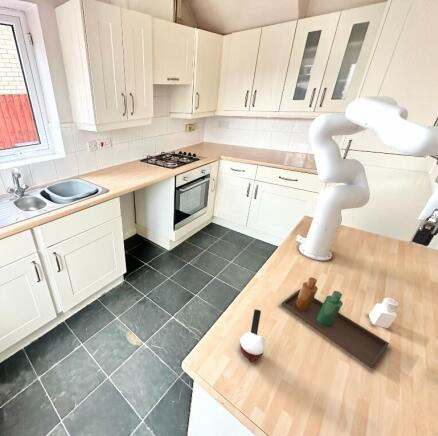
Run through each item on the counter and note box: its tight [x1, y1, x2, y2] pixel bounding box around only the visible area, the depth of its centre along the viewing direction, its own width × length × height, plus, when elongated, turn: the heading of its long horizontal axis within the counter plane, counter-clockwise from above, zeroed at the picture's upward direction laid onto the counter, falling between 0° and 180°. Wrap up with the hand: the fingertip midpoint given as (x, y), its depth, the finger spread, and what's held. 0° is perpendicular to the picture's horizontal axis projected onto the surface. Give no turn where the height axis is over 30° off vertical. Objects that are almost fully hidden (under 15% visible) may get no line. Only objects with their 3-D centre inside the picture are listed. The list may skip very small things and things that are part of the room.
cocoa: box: [239, 308, 265, 364], centre depth 66 cm, size 10×6×12 cm, turn 136°
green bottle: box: [317, 290, 344, 326], centre depth 74 cm, size 4×4×12 cm
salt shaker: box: [368, 297, 400, 329], centre depth 75 cm, size 4×4×10 cm
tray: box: [280, 288, 390, 369], centre depth 76 cm, size 25×11×2 cm, turn 33°
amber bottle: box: [295, 276, 319, 311], centre depth 80 cm, size 4×4×12 cm
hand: (424, 238), depth 69 cm, fingers open, 9 cm apart
